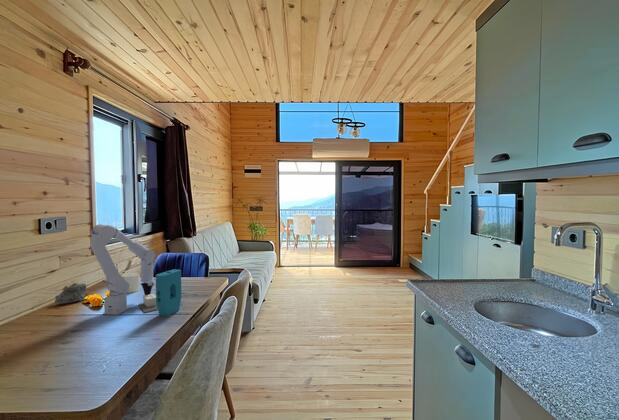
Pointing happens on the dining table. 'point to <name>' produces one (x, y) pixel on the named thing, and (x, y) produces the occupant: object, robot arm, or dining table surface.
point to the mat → (147, 308)
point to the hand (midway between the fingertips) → (147, 295)
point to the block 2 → (168, 292)
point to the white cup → (132, 282)
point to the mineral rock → (72, 294)
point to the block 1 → (149, 300)
